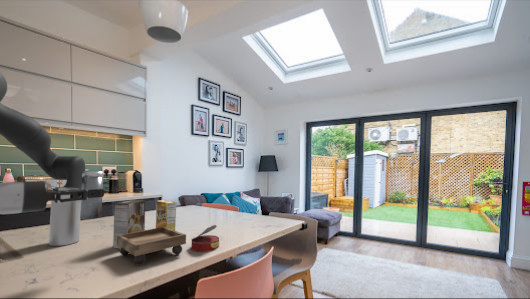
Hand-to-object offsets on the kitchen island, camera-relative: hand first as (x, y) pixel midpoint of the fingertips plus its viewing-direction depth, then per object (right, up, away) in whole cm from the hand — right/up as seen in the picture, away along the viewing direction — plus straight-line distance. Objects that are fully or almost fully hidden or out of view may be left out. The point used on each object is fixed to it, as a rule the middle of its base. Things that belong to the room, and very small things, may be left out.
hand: (100, 192), depth 74 cm
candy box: (+8, -24, +27) cm, 37 cm away
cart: (+10, -22, +10) cm, 27 cm away
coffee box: (-3, -23, +20) cm, 31 cm away
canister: (-1, -7, -2) cm, 7 cm away
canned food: (+26, -23, +18) cm, 40 cm away
